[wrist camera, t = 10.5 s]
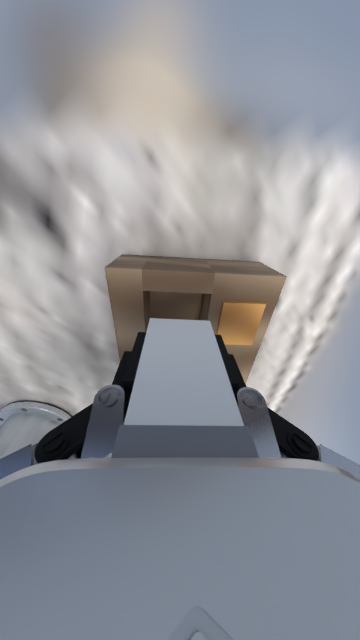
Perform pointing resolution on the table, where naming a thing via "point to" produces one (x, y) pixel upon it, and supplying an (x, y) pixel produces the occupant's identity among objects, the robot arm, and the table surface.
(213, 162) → the table surface
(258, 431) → the robot arm
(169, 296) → the socket block
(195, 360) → the plug
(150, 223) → the table surface
